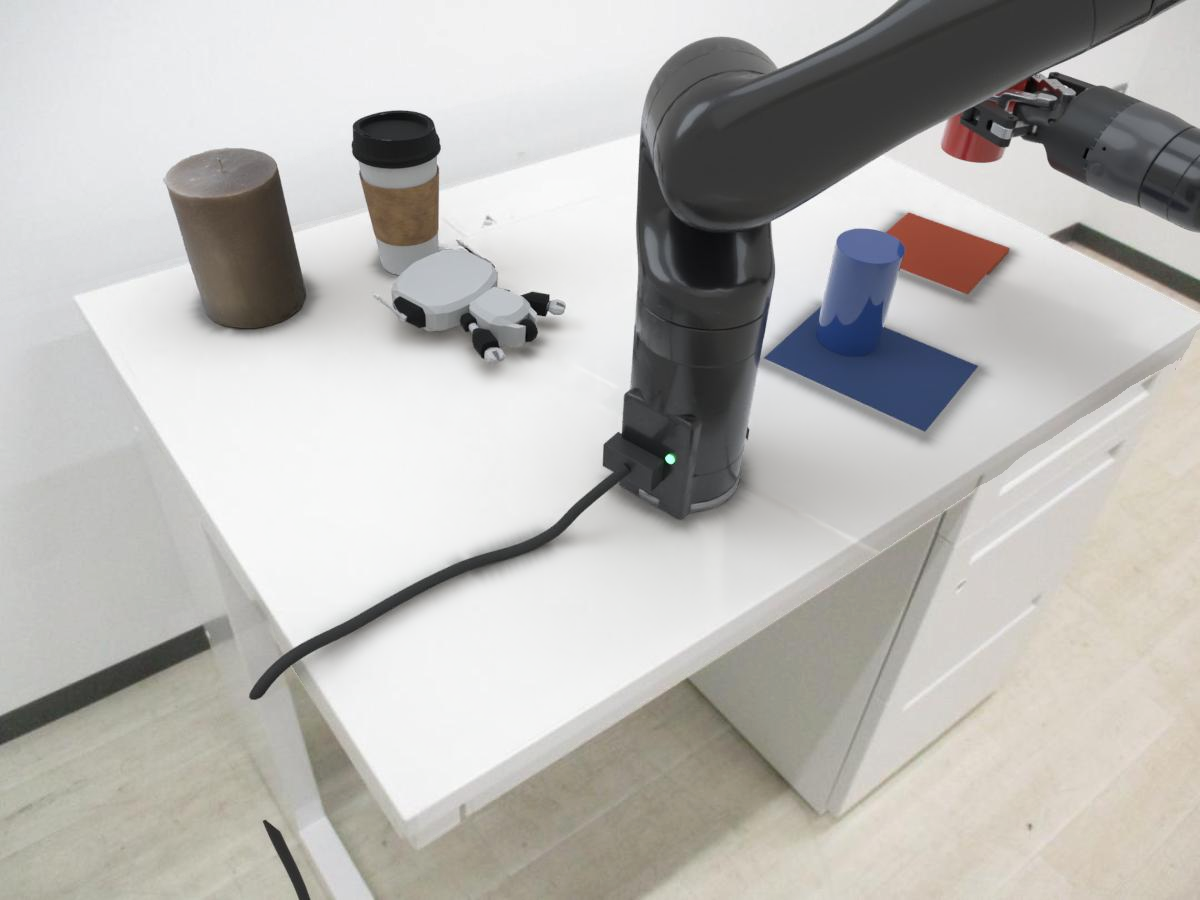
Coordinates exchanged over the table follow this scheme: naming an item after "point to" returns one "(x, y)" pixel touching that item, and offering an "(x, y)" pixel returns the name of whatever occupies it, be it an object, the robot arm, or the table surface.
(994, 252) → the red mat
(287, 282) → the pillar candle
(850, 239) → the blue glossy cylinder
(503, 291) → the robot toy
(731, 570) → the table surface
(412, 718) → the table surface
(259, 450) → the table surface
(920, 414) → the blue mat
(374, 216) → the coffee cup
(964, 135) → the red glossy cylinder
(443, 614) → the table surface
